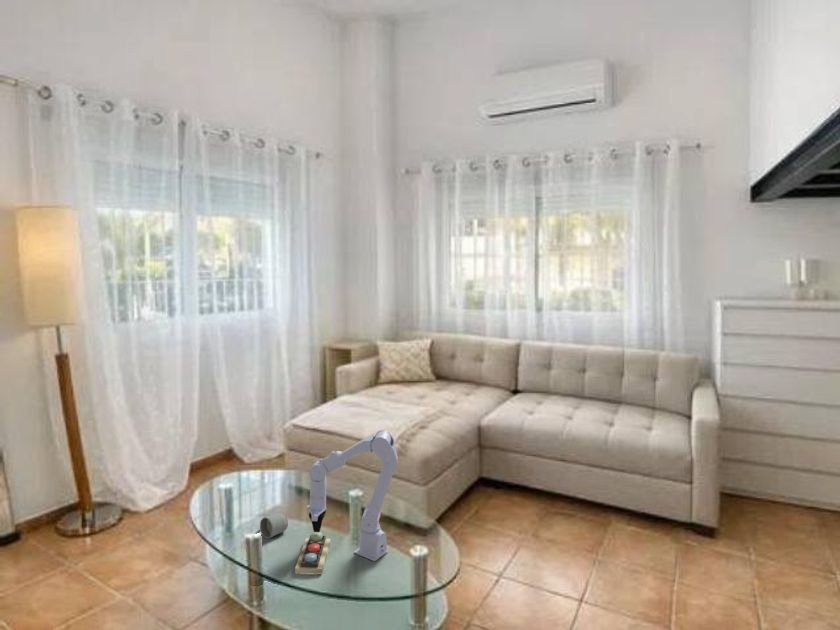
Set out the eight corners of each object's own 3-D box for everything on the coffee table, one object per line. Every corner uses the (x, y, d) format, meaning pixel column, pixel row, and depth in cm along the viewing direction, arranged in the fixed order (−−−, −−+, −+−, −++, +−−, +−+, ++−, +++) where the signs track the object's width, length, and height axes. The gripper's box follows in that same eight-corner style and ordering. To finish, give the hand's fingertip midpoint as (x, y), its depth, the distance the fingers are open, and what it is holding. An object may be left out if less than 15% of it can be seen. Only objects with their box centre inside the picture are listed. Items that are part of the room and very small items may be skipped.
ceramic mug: (289, 533, 202) (289, 513, 201) (271, 541, 195) (272, 521, 195) (271, 524, 208) (271, 505, 207) (254, 532, 201) (254, 512, 201)
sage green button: (312, 536, 193) (312, 531, 193) (323, 536, 193) (323, 531, 193) (310, 542, 189) (310, 536, 189) (321, 542, 189) (321, 537, 189)
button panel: (305, 543, 195) (306, 534, 194) (330, 543, 195) (330, 534, 195) (294, 574, 175) (295, 564, 175) (322, 574, 175) (322, 564, 175)
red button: (309, 548, 187) (309, 543, 187) (320, 548, 187) (320, 543, 187) (306, 554, 183) (307, 549, 183) (318, 554, 183) (318, 549, 183)
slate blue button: (305, 558, 180) (305, 552, 180) (317, 558, 180) (317, 553, 180) (303, 564, 176) (303, 559, 176) (315, 565, 176) (315, 559, 176)
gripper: (310, 486, 197) (309, 521, 198) (303, 503, 182) (302, 541, 184) (329, 487, 197) (328, 522, 198) (323, 503, 183) (322, 541, 184)
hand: (316, 531), depth 191 cm, fingers closed
